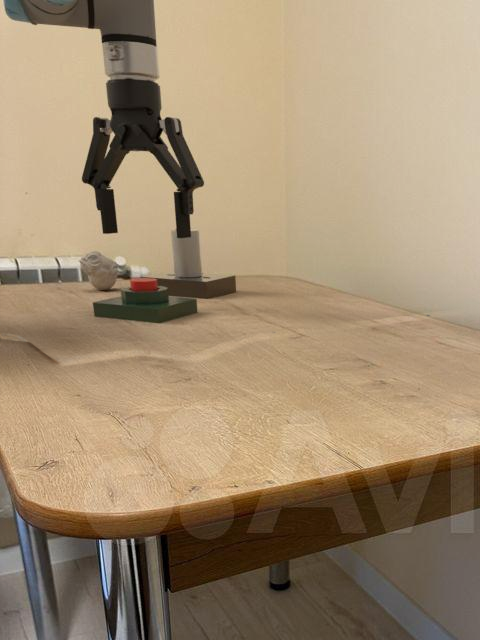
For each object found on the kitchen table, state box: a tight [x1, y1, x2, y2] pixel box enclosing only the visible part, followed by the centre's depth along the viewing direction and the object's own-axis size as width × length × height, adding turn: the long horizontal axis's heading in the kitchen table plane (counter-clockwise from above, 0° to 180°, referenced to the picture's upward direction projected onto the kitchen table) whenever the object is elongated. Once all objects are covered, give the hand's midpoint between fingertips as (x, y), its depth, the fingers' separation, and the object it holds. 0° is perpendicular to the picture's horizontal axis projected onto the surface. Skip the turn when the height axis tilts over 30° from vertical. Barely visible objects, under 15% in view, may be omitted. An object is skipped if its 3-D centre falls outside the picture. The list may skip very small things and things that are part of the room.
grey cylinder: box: [170, 228, 203, 278], centre depth 129 cm, size 5×5×8 cm
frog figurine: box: [78, 250, 119, 291], centre depth 131 cm, size 6×7×7 cm
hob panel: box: [139, 270, 237, 300], centre depth 131 cm, size 14×10×3 cm
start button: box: [129, 277, 158, 291], centre depth 109 cm, size 4×4×2 cm
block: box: [92, 285, 199, 324], centre depth 110 cm, size 12×10×4 cm
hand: (146, 235), depth 110 cm, fingers open, 13 cm apart
